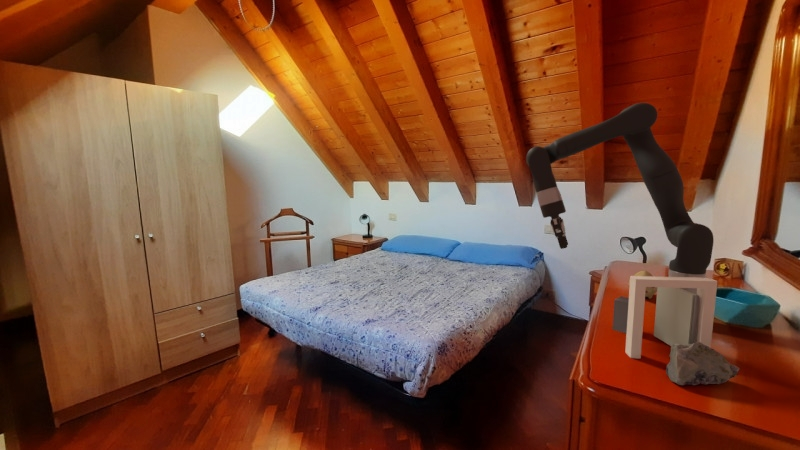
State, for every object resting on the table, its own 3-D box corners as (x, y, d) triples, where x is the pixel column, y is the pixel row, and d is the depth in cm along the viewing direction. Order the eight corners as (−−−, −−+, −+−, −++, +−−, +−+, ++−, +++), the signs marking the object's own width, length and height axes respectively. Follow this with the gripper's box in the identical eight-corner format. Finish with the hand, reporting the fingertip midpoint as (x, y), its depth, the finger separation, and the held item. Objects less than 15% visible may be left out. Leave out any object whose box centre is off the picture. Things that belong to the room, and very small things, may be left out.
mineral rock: (736, 381, 78) (740, 341, 76) (743, 406, 70) (748, 361, 68) (666, 363, 86) (669, 327, 85) (665, 383, 78) (668, 343, 76)
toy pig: (626, 299, 131) (628, 273, 130) (628, 290, 141) (629, 266, 140) (657, 304, 126) (660, 277, 124) (657, 294, 135) (659, 269, 134)
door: (700, 357, 87) (706, 296, 85) (690, 358, 87) (696, 296, 85) (662, 335, 100) (666, 281, 98) (653, 335, 100) (657, 281, 98)
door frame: (700, 356, 89) (708, 277, 86) (709, 362, 86) (717, 281, 83) (625, 352, 92) (630, 275, 89) (630, 357, 89) (636, 279, 86)
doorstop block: (612, 329, 106) (614, 299, 104) (619, 325, 109) (621, 296, 107) (628, 334, 102) (630, 303, 101) (635, 330, 105) (637, 300, 104)
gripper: (561, 198, 107) (576, 246, 106) (563, 199, 120) (576, 242, 119) (537, 205, 111) (551, 251, 110) (541, 205, 123) (554, 247, 122)
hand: (564, 246), depth 114 cm, fingers open, 8 cm apart
